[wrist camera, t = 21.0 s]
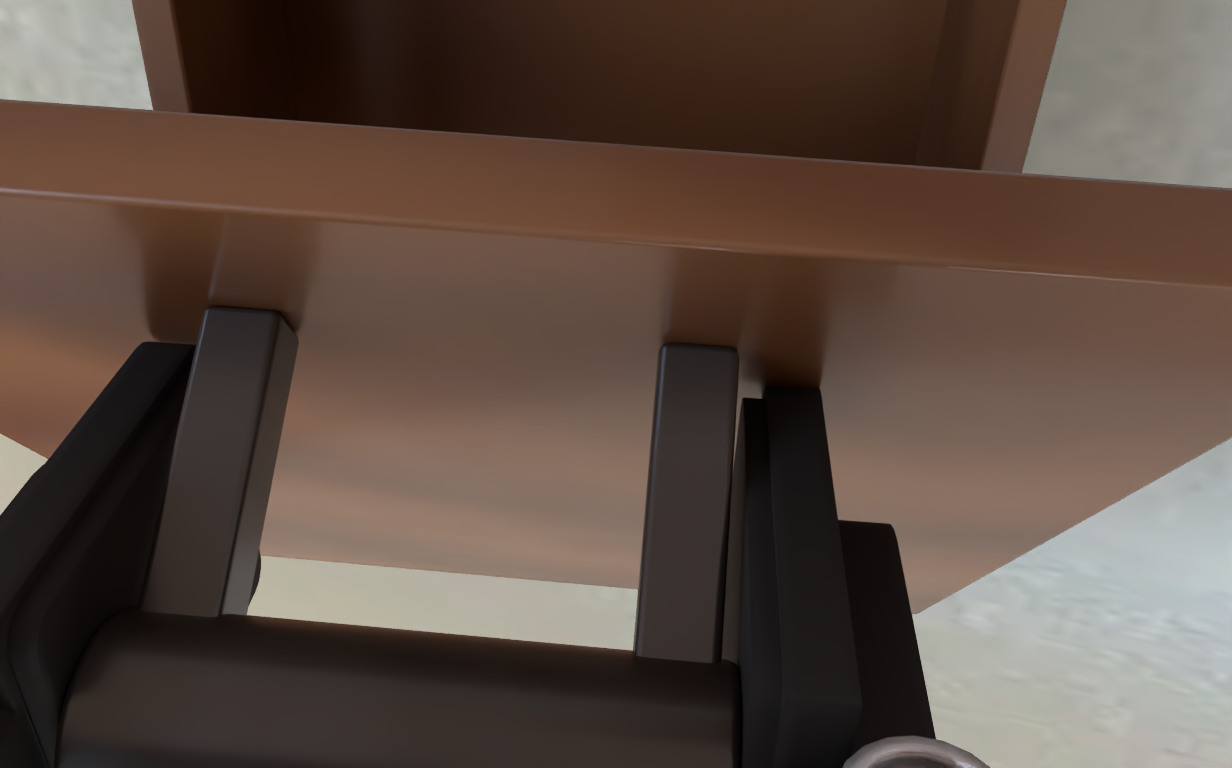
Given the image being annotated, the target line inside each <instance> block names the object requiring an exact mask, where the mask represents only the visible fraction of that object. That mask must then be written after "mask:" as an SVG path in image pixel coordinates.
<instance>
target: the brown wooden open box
mask: <svg viewBox="0 0 1232 768" xmlns="http://www.w3.org/2000/svg"><path fill="white" fill-rule="evenodd" d="M1066 3H1067V0H132V4H133V9H134V15H135V20H136V25H137V30H138V35H139V40H140V45H141V50H142V55H143V60H144V66H145V71H146V76H147V81H148V86H149V91H150V96H151V101H152V106H153V110H155V111H169V112H183V113H197V114H211V115H224V116H238V117H252V118H266V119H280V120H293V121H307V122H321V123H335V124H348V125H362V126H376V127H390V128H404V129H417V130H431V131H445V132H459V133H473V134H486V135H500V136H514V137H528V138H542V139H555V140H569V141H583V142H597V143H611V144H624V145H638V146H652V147H666V148H680V149H693V150H707V151H721V152H735V153H749V154H762V155H776V156H790V157H804V158H818V159H831V160H845V161H859V162H873V163H887V164H900V165H914V166H928V167H942V168H956V169H969V170H983V171H997V172H1011V173H1022V170H1023V166H1024V162H1025V159H1026V155H1027V151H1028V147H1029V143H1030V140H1031V136H1032V132H1033V128H1034V124H1035V121H1036V117H1037V113H1038V109H1039V105H1040V102H1041V98H1042V94H1043V90H1044V86H1045V83H1046V79H1047V75H1048V71H1049V67H1050V64H1051V60H1052V56H1053V52H1054V48H1055V45H1056V41H1057V37H1058V33H1059V29H1060V26H1061V22H1062V18H1063V14H1064V10H1065V7H1066Z"/></svg>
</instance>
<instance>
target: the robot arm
mask: <svg viewBox="0 0 1232 768" xmlns="http://www.w3.org/2000/svg"><path fill="white" fill-rule="evenodd" d="M195 348H196V345H194V344H180V343H166V342H151V341H147V342H142V343H141V344H140V345H139V346H138V347H137V348H136V349H135V350H134V351H133V353H132V354H131V355H130V356H129V358H128V359H127V360H126V362H125V363H124V364H123V365H122V367H121V368H120V369H119V370H118V372H117V373H116V374H115V375H114V377H113V378H112V379H111V381H110V382H109V383H108V384H107V386H106V387H105V388H104V389H103V391H102V392H101V393H100V394H99V396H98V397H97V398H96V400H95V401H94V402H93V403H92V405H91V406H90V407H89V408H88V410H87V411H86V412H85V414H84V415H83V416H82V417H81V419H80V420H79V421H78V422H77V424H76V425H75V426H74V427H73V429H72V430H71V431H70V433H69V434H68V435H67V436H66V438H65V439H64V440H63V441H62V443H61V444H60V445H59V446H58V448H57V449H56V450H55V452H54V453H53V454H52V455H51V457H50V458H49V459H48V460H47V462H46V463H45V464H44V465H43V466H42V467H40V468H39V469H38V470H37V471H36V472H35V473H34V474H33V475H32V476H31V477H30V479H29V480H28V481H27V483H26V484H25V485H24V486H23V488H22V489H21V490H20V491H19V493H18V494H17V495H16V496H15V498H14V499H13V500H12V501H11V503H10V504H9V505H8V506H7V508H6V509H5V510H4V512H3V513H2V514H1V515H0V768H54V757H55V745H56V738H57V731H58V726H59V721H60V716H61V711H62V708H63V704H64V700H65V697H66V694H67V691H68V688H69V685H70V682H71V679H72V677H73V674H74V672H75V669H76V667H77V665H78V662H79V660H80V658H81V656H82V654H83V652H84V651H85V649H86V647H87V645H88V644H89V642H90V640H91V639H92V637H93V636H94V635H95V633H96V632H97V630H98V629H99V628H100V627H101V626H102V625H103V623H104V622H105V621H106V620H108V619H109V618H110V617H111V616H112V615H114V614H115V613H117V612H118V611H121V610H123V609H126V608H129V607H132V606H138V604H139V599H140V595H141V590H142V586H143V581H144V577H145V573H146V568H147V564H148V559H149V555H150V550H151V546H152V541H153V537H154V532H155V528H156V523H157V519H158V514H159V510H160V505H161V501H162V496H163V492H164V487H165V483H166V478H167V474H168V469H169V465H170V460H171V456H172V451H173V447H174V442H175V438H176V433H177V429H178V425H179V420H180V416H181V411H182V407H183V402H184V398H185V393H186V389H187V384H188V380H189V375H190V371H191V366H192V362H193V357H194V353H195ZM260 570H261V556H260V549H259V553H258V558H257V563H256V568H255V574H254V579H253V584H252V589H251V594H250V599H249V604H250V602H251V600H252V598H253V595H254V593H255V591H256V588H257V586H258V582H259V577H260ZM248 606H249V605H248ZM722 659H728V660H730V661H732V662H734V663H736V665H737V668H738V671H739V675H740V681H741V693H742V753H741V768H990V767H989V766H987V765H986V764H985V763H983V762H982V761H981V760H979V759H978V758H977V757H975V756H974V755H973V754H971V753H969V752H967V751H965V750H962V749H960V748H958V747H956V746H953V745H951V744H949V743H947V742H944V741H941V740H936V737H935V732H934V727H933V722H932V717H931V711H930V706H929V701H928V696H927V691H926V686H925V680H924V675H923V670H922V665H921V660H920V655H919V649H918V644H917V639H916V634H915V629H914V624H913V619H912V613H911V608H910V603H909V598H908V593H907V588H906V582H905V577H904V572H903V567H902V562H901V557H900V551H899V546H898V541H897V537H896V534H895V530H894V528H893V527H892V525H891V524H887V523H874V522H861V521H848V520H838V516H837V508H836V501H835V493H834V486H833V478H832V471H831V463H830V456H829V448H828V440H827V433H826V425H825V418H824V410H823V403H822V396H821V391H820V389H809V388H795V387H781V386H768V385H766V386H765V389H764V392H763V395H762V399H759V398H745V397H743V398H742V402H741V409H740V417H739V426H738V434H737V442H736V451H735V459H734V468H733V477H732V494H731V511H730V527H729V544H728V560H727V577H726V593H725V610H724V626H723V643H722Z"/></svg>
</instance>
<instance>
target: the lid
mask: <svg viewBox="0 0 1232 768" xmlns="http://www.w3.org/2000/svg"><path fill="white" fill-rule="evenodd" d="M147 341H151V342H166V343H180V344H194V345H196V348H195V353H194V357H193V362H192V366H191V371H190V375H189V380H188V384H187V389H186V393H185V398H184V402H183V407H182V411H181V416H180V420H179V425H178V429H177V433H176V438H175V442H174V447H173V451H172V456H171V460H170V465H169V469H168V474H167V478H166V483H165V487H164V492H163V496H162V501H161V505H160V510H159V514H158V519H157V523H156V528H155V532H154V537H153V541H152V546H151V550H150V555H149V559H148V564H147V568H146V573H145V577H144V581H143V586H142V590H141V595H140V599H139V604H138V606H132V607H129V608H126V609H123V610H121V611H118V612H117V613H115V614H114V615H112V616H111V617H110V618H109V619H108V620H106V621H105V622H104V623H103V625H102V626H101V627H100V628H99V629H98V630H97V632H96V633H95V635H94V636H93V637H92V639H91V640H90V642H89V644H88V645H87V647H86V649H85V651H84V652H83V654H82V656H81V658H80V660H79V662H78V665H77V667H76V669H75V672H74V674H73V677H72V679H71V682H70V685H69V688H68V691H67V694H66V697H65V700H64V704H63V708H62V711H61V716H60V721H59V726H58V731H57V738H56V745H55V757H54V768H741V753H742V693H741V681H740V675H739V671H738V668H737V665H736V663H734V662H732V661H730V660H728V659H722V643H723V626H724V610H725V593H726V577H727V560H728V544H729V527H730V511H731V494H732V477H733V468H734V459H735V451H736V442H737V434H738V426H739V417H740V409H741V402H742V398H743V397H745V398H759V399H762V395H763V392H764V389H765V386H766V385H768V386H781V387H795V388H809V389H820V391H821V396H822V403H823V410H824V418H825V425H826V433H827V440H828V448H829V456H830V463H831V471H832V478H833V486H834V493H835V501H836V508H837V516H838V520H848V521H861V522H874V523H887V524H891V525H892V527H893V528H894V530H895V534H896V537H897V541H898V546H899V551H900V557H901V562H902V567H903V572H904V577H905V582H906V588H907V593H908V598H909V603H910V608H911V613H912V614H917V613H920V612H921V611H923V610H925V609H927V608H928V607H930V606H932V605H934V604H936V603H937V602H939V601H941V600H943V599H945V598H946V597H948V596H950V595H952V594H953V593H955V592H957V591H959V590H961V589H962V588H964V587H966V586H968V585H970V584H971V583H973V582H975V581H977V580H978V579H980V578H982V577H984V576H986V575H987V574H989V573H991V572H993V571H995V570H996V569H998V568H1000V567H1002V566H1003V565H1005V564H1007V563H1009V562H1011V561H1012V560H1014V559H1016V558H1018V557H1020V556H1021V555H1023V554H1025V553H1027V552H1028V551H1030V550H1032V549H1034V548H1036V547H1037V546H1039V545H1041V544H1043V543H1045V542H1046V541H1048V540H1050V539H1052V538H1053V537H1055V536H1057V535H1059V534H1061V533H1062V532H1064V531H1066V530H1068V529H1070V528H1071V527H1073V526H1075V525H1077V524H1078V523H1080V522H1082V521H1084V520H1086V519H1087V518H1089V517H1091V516H1093V515H1095V514H1096V513H1098V512H1100V511H1102V510H1103V509H1105V508H1107V507H1109V506H1111V505H1112V504H1114V503H1116V502H1118V501H1120V500H1121V499H1123V498H1125V497H1127V496H1128V495H1130V494H1132V493H1134V492H1136V491H1137V490H1139V489H1141V488H1143V487H1145V486H1146V485H1148V484H1150V483H1152V482H1153V481H1155V480H1157V479H1159V478H1161V477H1162V476H1164V475H1166V474H1168V473H1170V472H1171V471H1173V470H1175V469H1177V468H1178V467H1180V466H1182V465H1184V464H1186V463H1187V462H1189V461H1191V460H1193V459H1195V458H1196V457H1198V456H1200V455H1202V454H1203V453H1205V452H1207V451H1209V450H1211V449H1212V448H1214V447H1216V446H1218V445H1220V444H1221V443H1223V442H1225V441H1227V440H1228V439H1230V438H1232V188H1218V187H1204V186H1190V185H1176V184H1163V183H1149V182H1135V181H1121V180H1107V179H1094V178H1080V177H1066V176H1052V175H1038V174H1025V173H1011V172H997V171H983V170H969V169H956V168H942V167H928V166H914V165H900V164H887V163H873V162H859V161H845V160H831V159H818V158H804V157H790V156H776V155H762V154H749V153H735V152H721V151H707V150H693V149H680V148H666V147H652V146H638V145H624V144H611V143H597V142H583V141H569V140H555V139H542V138H528V137H514V136H500V135H486V134H473V133H459V132H445V131H431V130H417V129H404V128H390V127H376V126H362V125H348V124H335V123H321V122H307V121H293V120H280V119H266V118H252V117H238V116H224V115H211V114H197V113H183V112H169V111H155V110H142V109H128V108H114V107H100V106H86V105H73V104H59V103H45V102H31V101H17V100H4V99H0V433H1V434H3V435H4V436H6V437H8V438H10V439H12V440H14V441H16V442H17V443H19V444H21V445H23V446H25V447H27V448H29V449H31V450H32V451H34V452H36V453H38V454H40V455H42V456H44V457H46V458H47V459H49V458H50V457H51V455H52V454H53V453H54V452H55V450H56V449H57V448H58V446H59V445H60V444H61V443H62V441H63V440H64V439H65V438H66V436H67V435H68V434H69V433H70V431H71V430H72V429H73V427H74V426H75V425H76V424H77V422H78V421H79V420H80V419H81V417H82V416H83V415H84V414H85V412H86V411H87V410H88V408H89V407H90V406H91V405H92V403H93V402H94V401H95V400H96V398H97V397H98V396H99V394H100V393H101V392H102V391H103V389H104V388H105V387H106V386H107V384H108V383H109V382H110V381H111V379H112V378H113V377H114V375H115V374H116V373H117V372H118V370H119V369H120V368H121V367H122V365H123V364H124V363H125V362H126V360H127V359H128V358H129V356H130V355H131V354H132V353H133V351H134V350H135V349H136V348H137V347H138V346H139V345H140V344H141V343H142V342H147ZM259 549H260V555H261V556H272V557H284V558H295V559H306V560H317V561H328V562H339V563H351V564H362V565H373V566H384V567H395V568H407V569H418V570H429V571H440V572H451V573H462V574H474V575H485V576H496V577H507V578H518V579H529V580H541V581H552V582H563V583H574V584H585V585H597V586H608V587H619V588H630V589H638V599H637V610H636V622H635V634H634V646H633V651H630V650H619V649H608V648H598V647H587V646H576V645H565V644H554V643H543V642H532V641H521V640H510V639H500V638H489V637H478V636H467V635H456V634H445V633H434V632H423V631H412V630H402V629H391V628H380V627H369V626H358V625H347V624H336V623H325V622H314V621H304V620H293V619H282V618H271V617H260V616H249V615H247V610H248V605H249V599H250V594H251V589H252V584H253V579H254V574H255V568H256V563H257V558H258V553H259Z"/></svg>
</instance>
